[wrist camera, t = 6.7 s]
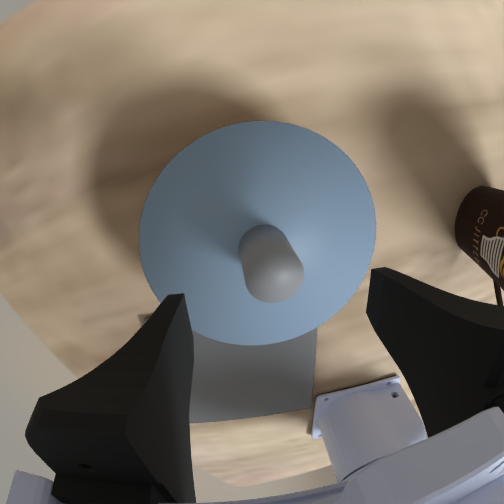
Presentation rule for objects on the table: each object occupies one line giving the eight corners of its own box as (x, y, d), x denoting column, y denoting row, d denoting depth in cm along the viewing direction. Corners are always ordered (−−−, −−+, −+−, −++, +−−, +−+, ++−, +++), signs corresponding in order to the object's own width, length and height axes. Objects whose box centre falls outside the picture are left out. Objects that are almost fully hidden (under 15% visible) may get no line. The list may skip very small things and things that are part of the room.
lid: (374, 120, 15) (414, 124, 12) (360, 323, 20) (384, 359, 17) (123, 136, 14) (97, 142, 10) (165, 348, 19) (160, 391, 16)
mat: (316, 297, 24) (318, 301, 23) (309, 404, 29) (310, 407, 28) (145, 317, 23) (144, 321, 22) (180, 419, 28) (180, 423, 27)
